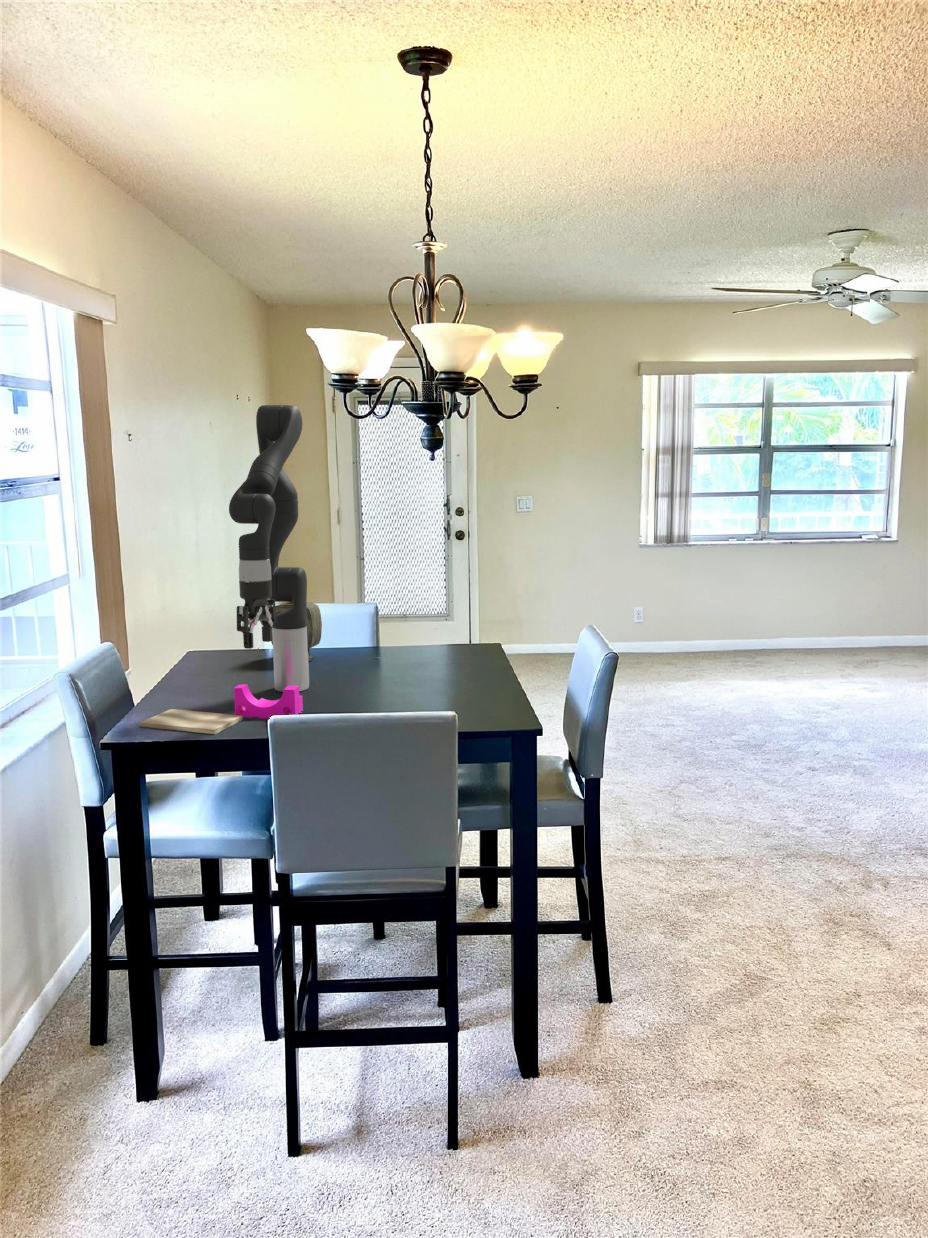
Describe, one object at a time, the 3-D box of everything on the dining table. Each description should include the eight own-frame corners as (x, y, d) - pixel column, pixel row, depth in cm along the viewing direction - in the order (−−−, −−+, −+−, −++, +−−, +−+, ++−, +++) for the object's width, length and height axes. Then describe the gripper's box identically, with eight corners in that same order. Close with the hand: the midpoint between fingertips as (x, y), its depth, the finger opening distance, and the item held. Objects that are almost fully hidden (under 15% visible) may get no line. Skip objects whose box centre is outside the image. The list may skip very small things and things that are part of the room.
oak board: (171, 712, 218) (171, 708, 218) (243, 719, 213) (242, 715, 212) (140, 726, 207) (140, 722, 207) (214, 734, 201) (214, 730, 201)
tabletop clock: (270, 660, 276) (267, 580, 271) (282, 654, 284) (279, 577, 280) (313, 662, 272) (311, 582, 268) (324, 656, 281) (322, 578, 277)
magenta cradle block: (302, 713, 219) (302, 683, 218) (295, 720, 213) (294, 689, 212) (244, 710, 221) (243, 681, 220) (235, 718, 215) (234, 688, 213)
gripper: (256, 574, 219) (259, 638, 221) (225, 581, 205) (228, 649, 208) (284, 575, 216) (286, 640, 219) (253, 582, 203) (256, 651, 206)
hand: (257, 644), depth 214 cm, fingers open, 8 cm apart
